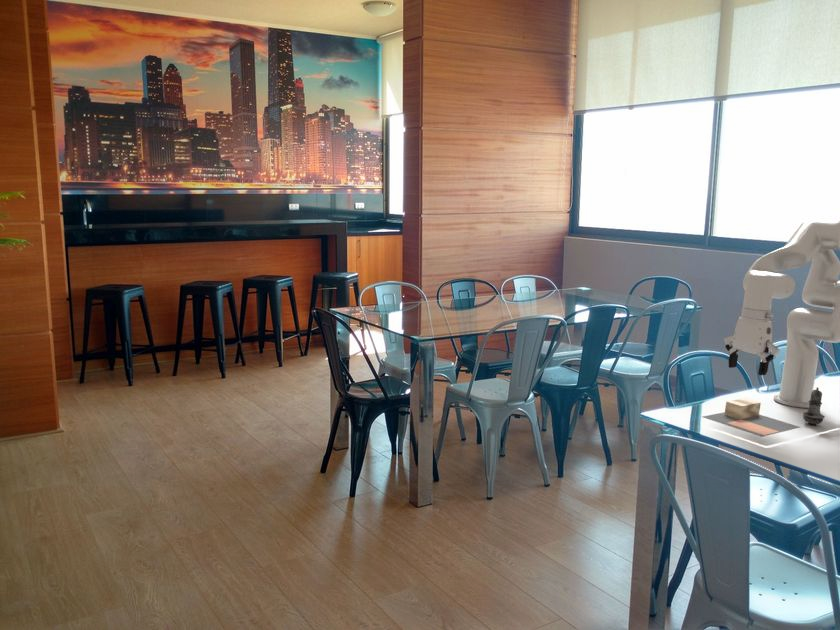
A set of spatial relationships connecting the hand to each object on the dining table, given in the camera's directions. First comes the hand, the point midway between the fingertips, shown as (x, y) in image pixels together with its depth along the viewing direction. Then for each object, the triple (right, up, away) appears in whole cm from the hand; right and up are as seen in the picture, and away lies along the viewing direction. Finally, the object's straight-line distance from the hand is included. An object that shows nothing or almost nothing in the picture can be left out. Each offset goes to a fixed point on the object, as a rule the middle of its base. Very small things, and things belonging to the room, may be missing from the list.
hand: (746, 371), depth 217 cm
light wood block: (0, -14, +3) cm, 14 cm away
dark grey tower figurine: (+18, -16, -3) cm, 24 cm away
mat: (-1, -15, -4) cm, 16 cm away
